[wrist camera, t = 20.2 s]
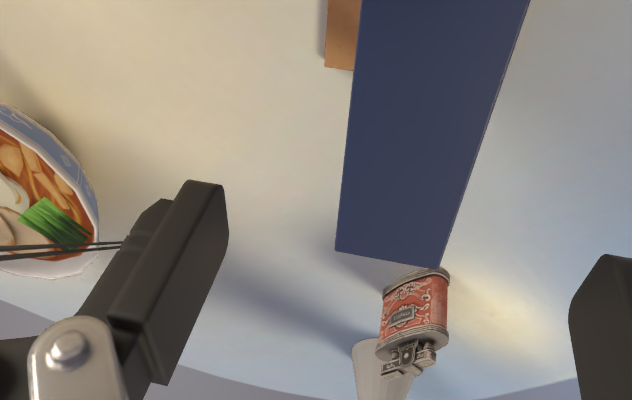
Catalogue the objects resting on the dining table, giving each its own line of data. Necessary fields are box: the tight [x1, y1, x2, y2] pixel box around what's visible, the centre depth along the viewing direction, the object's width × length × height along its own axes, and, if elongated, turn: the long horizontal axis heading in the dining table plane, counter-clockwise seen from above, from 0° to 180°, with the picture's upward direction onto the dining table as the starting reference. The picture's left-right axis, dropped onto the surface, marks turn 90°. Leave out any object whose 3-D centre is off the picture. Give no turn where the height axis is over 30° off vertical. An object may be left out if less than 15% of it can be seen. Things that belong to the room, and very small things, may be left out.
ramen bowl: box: [0, 102, 123, 280], centre depth 48 cm, size 25×23×8 cm
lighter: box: [375, 267, 450, 381], centre depth 49 cm, size 8×3×10 cm, turn 138°
